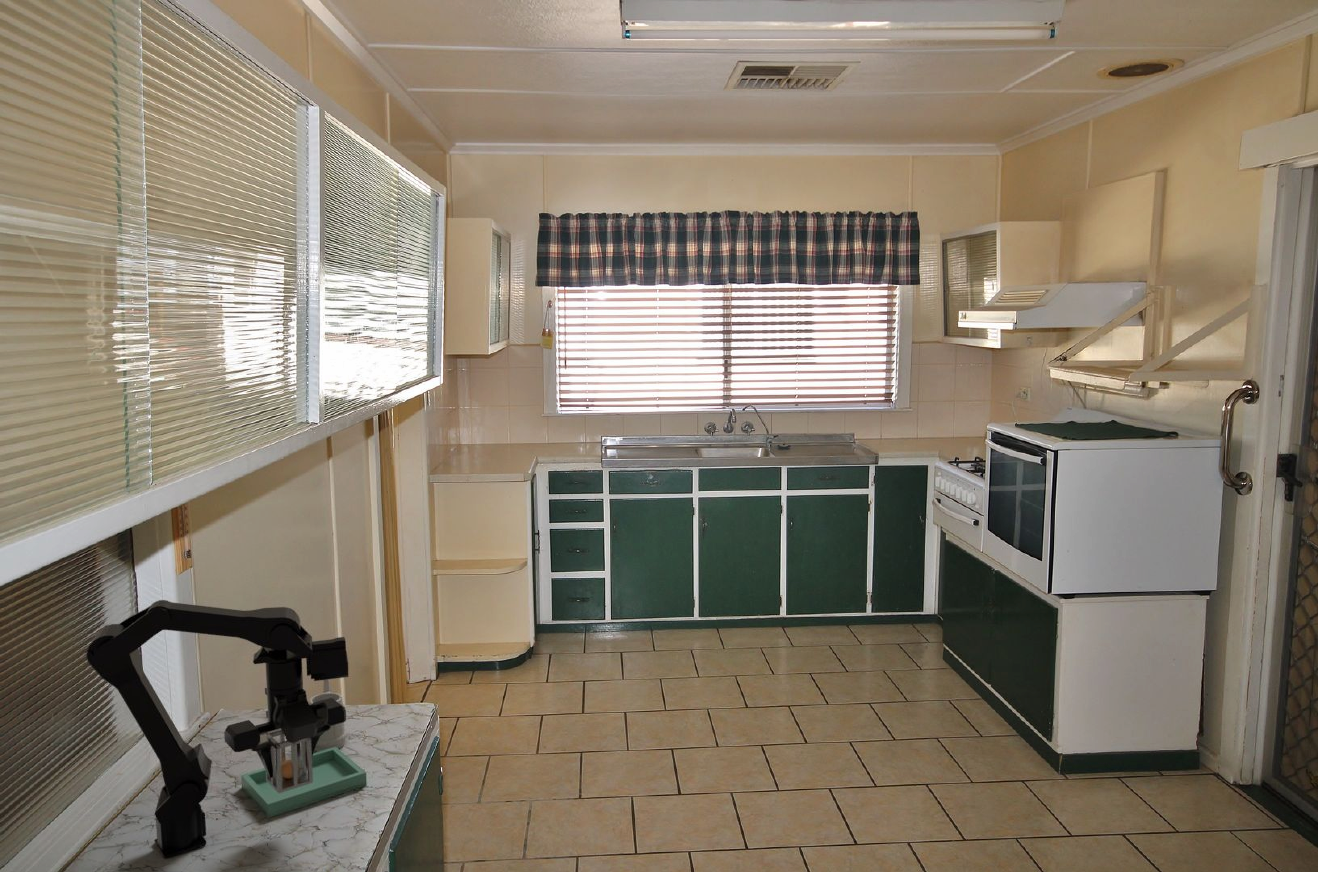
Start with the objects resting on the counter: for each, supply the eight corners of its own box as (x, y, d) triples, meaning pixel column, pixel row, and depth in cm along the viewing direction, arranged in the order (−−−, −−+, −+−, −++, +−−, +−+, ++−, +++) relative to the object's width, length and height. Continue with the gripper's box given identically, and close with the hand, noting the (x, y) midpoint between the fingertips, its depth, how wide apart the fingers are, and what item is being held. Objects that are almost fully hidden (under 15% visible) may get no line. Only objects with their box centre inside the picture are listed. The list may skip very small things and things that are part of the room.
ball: (283, 780, 162) (283, 761, 162) (277, 779, 164) (277, 761, 164) (301, 777, 164) (301, 759, 164) (294, 776, 166) (294, 758, 166)
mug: (306, 755, 191) (304, 697, 189) (309, 730, 202) (307, 676, 200) (346, 750, 193) (344, 693, 191) (347, 726, 204) (345, 672, 203)
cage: (278, 793, 160) (276, 745, 159) (266, 780, 164) (263, 733, 163) (312, 782, 163) (310, 735, 162) (300, 770, 168) (297, 724, 167)
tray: (268, 817, 167) (267, 804, 167) (241, 787, 178) (241, 775, 177) (366, 785, 179) (366, 772, 179) (336, 758, 189) (335, 746, 189)
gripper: (243, 714, 149) (248, 808, 151) (358, 684, 162) (361, 771, 164) (220, 692, 158) (226, 782, 160) (331, 665, 170) (334, 749, 172)
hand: (289, 771), depth 163 cm, fingers closed on cage, 6 cm apart
